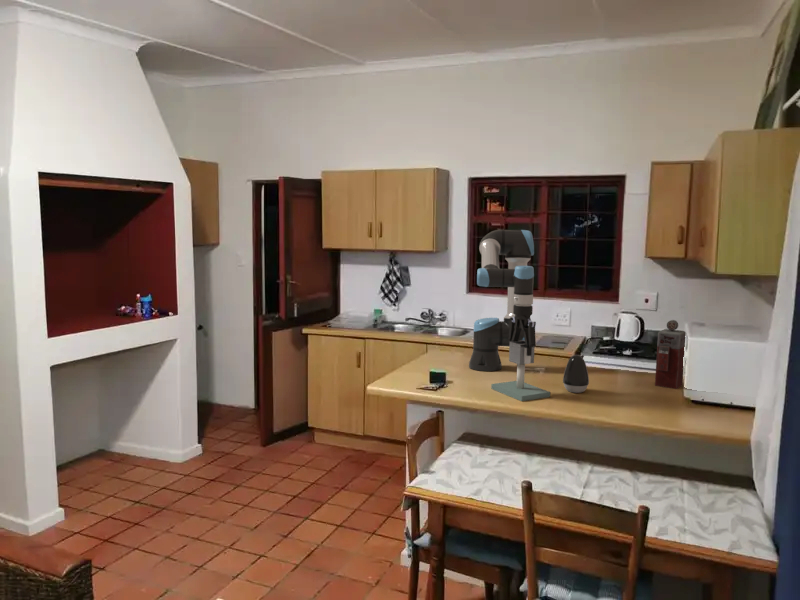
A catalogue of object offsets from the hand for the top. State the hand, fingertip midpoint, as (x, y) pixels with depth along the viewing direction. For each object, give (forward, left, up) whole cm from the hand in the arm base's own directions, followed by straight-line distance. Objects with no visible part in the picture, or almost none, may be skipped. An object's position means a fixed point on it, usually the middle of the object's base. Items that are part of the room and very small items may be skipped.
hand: (521, 361), depth 259 cm
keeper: (0, 0, -13) cm, 13 cm away
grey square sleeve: (0, 0, 0) cm, 0 cm away
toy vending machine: (+18, +64, -13) cm, 68 cm away
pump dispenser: (+8, +22, -13) cm, 27 cm away
